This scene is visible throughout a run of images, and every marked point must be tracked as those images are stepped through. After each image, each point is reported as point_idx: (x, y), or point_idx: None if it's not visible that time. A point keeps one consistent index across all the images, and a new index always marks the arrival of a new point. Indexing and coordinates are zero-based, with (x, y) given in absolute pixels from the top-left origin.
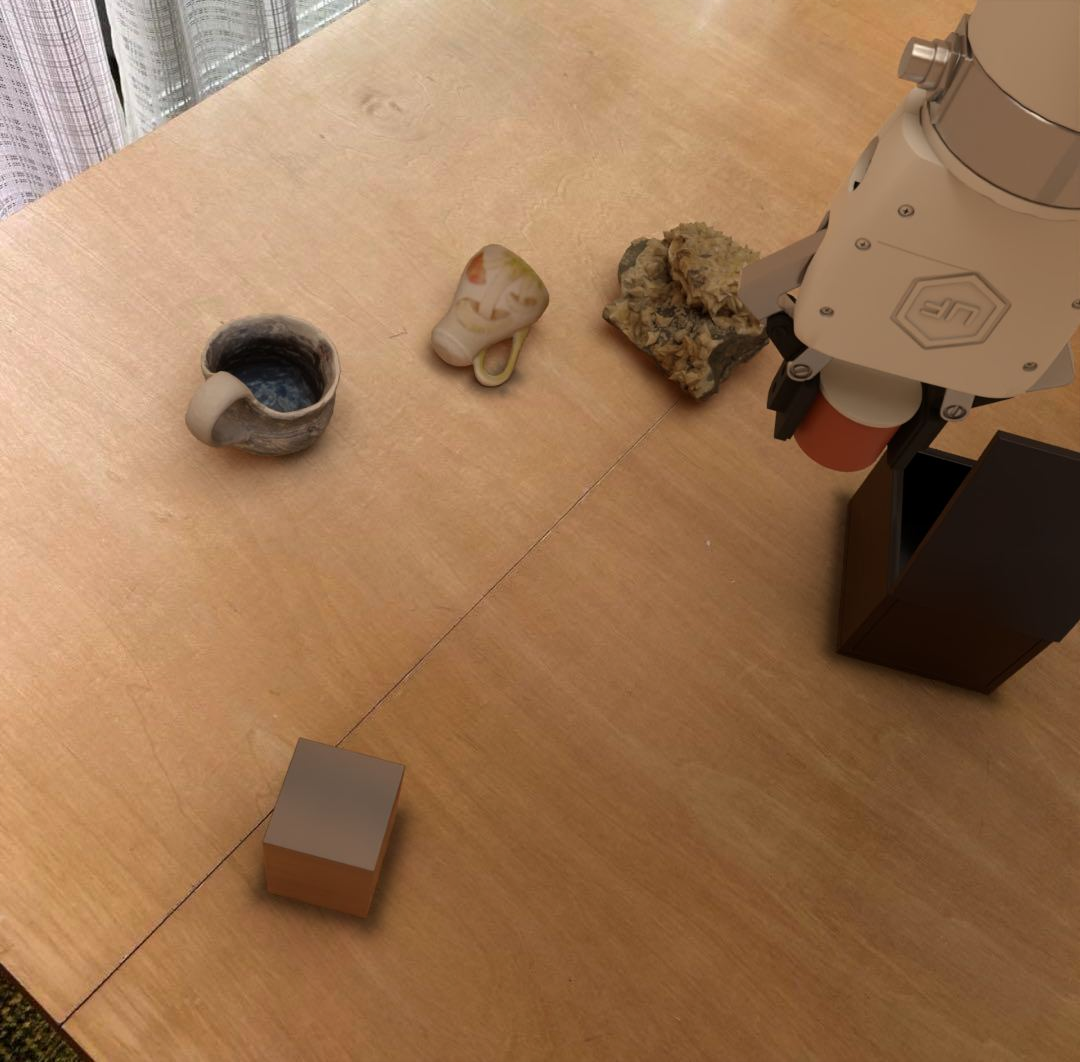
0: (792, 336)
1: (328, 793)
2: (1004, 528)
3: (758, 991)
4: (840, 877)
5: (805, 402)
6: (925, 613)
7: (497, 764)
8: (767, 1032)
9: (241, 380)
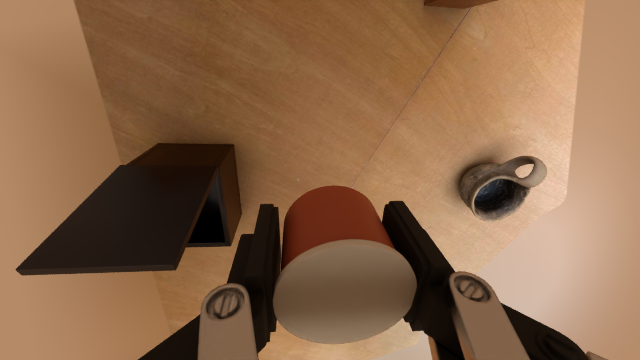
0: (533, 345)
1: None
2: (160, 211)
3: None
4: (209, 26)
5: (424, 246)
6: (197, 163)
7: (379, 48)
8: None
9: (491, 192)
